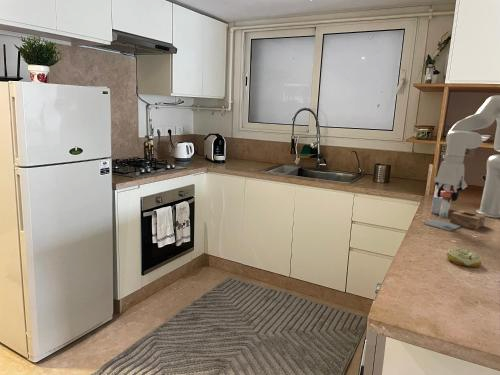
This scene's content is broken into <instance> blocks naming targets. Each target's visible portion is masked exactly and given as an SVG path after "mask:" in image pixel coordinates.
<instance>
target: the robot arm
mask: <svg viewBox="0 0 500 375" xmlns="http://www.w3.org/2000/svg"><path fill="white" fill-rule="evenodd" d="M495 121H496V130H495V136H494V140H493V142H494V143H493V149H494V151H496V152H498V153H499V152H500V95H499V94H498V95H492V96H490V97H488V98H486V100H485V101H484V103H482V105H481V106H480V107H479V108H478V109H477V111H476V112H475V113H474V114H472V115H469V116H467V117H465V118H463V119H461V120H458V121H457V122H456V123H455V124H453V126H452V127H451V128H450V129H449V131H448V132H447V134H446V136H445V137H446V138H445V142H446V149H445V154H443V155H442V157H441V158H442V159H443V160H442V161H441V163H440V166H439V169H438V172H437V176H434V178H433V179H432V180H433V182H434V183H435V186H436V185H437V188H438V193H437V195H438V196H437V197H441V196H440V192H441V190H444V188H443V187H444V185H445V184H446V185H451V187H452V186H453V190H454V191H453V193H452V198H451V202H456V201H458V198H459V194H460V192H461V191H463V190H465V188H467V187H468V184H467V183H466V181H465V179H464V178H465V171H466V170H465V163H464V159H465V156H466V155H465V154H466V150H467V149H469V150H474V149H478V148H479V147H480V146H481V145H482V143H483V138H482V135H481V134H480V133H478V132H476V130H481V129H487V128H489V127H491V126H492V125H493V123H494V122H495ZM484 181H485V182H484V187H483V191H482V197H481V200H480V201H481V202H480V206H479V208H478V209H476V211H475V213H477V214H481V215H485V216H486V217H488V218H493V219H495V218H496V219H500V154H493V155H490V156H489V157H488V158H487V161H486V177H485V180H484Z"/></svg>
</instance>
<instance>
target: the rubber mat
mask: <svg viewBox="0 0 500 375" xmlns="http://www.w3.org/2000/svg"><path fill="white" fill-rule="evenodd" d="M423 225H425V226H429V227H433V228H437V229H440V230H443V231H447V232H452V231H455V230H457V229H460V228H462V226H460V225H456V224H452V223H450V222H447V221H444V220H440V219H436V218H434V219H431V220H428V221H425V222H423Z"/></svg>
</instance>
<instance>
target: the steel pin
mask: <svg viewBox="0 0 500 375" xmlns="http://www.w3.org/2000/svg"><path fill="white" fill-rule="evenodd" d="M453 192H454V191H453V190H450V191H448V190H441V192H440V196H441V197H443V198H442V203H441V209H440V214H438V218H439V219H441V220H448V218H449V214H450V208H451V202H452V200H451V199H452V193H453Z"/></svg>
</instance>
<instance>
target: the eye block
mask: <svg viewBox="0 0 500 375" xmlns="http://www.w3.org/2000/svg"><path fill="white" fill-rule="evenodd" d="M486 217H487V216H485V215H481V214H478V213H476V212H471V211H467V210H463V209H459V210H456V211H453V212H451V215H450V221H449V223H452V224H456V225H460V226H461V227H462V228H467V229H471V230H478V229H480V228H483V227H484V225H485V222H486Z"/></svg>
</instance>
